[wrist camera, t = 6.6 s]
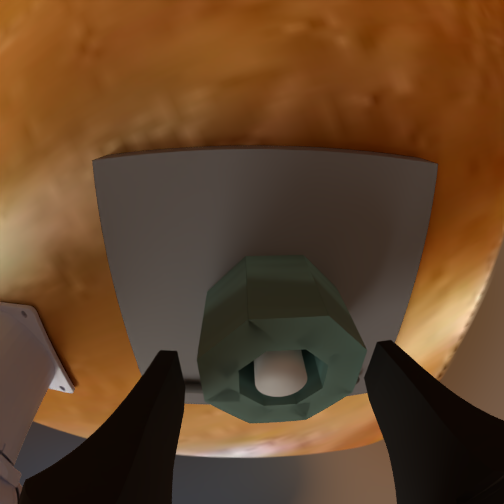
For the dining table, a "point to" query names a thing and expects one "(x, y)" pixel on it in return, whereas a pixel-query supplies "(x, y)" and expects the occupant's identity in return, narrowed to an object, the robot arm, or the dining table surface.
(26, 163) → the dining table surface
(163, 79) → the dining table surface
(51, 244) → the dining table surface
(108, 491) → the robot arm
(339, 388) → the bead
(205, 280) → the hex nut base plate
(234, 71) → the dining table surface
